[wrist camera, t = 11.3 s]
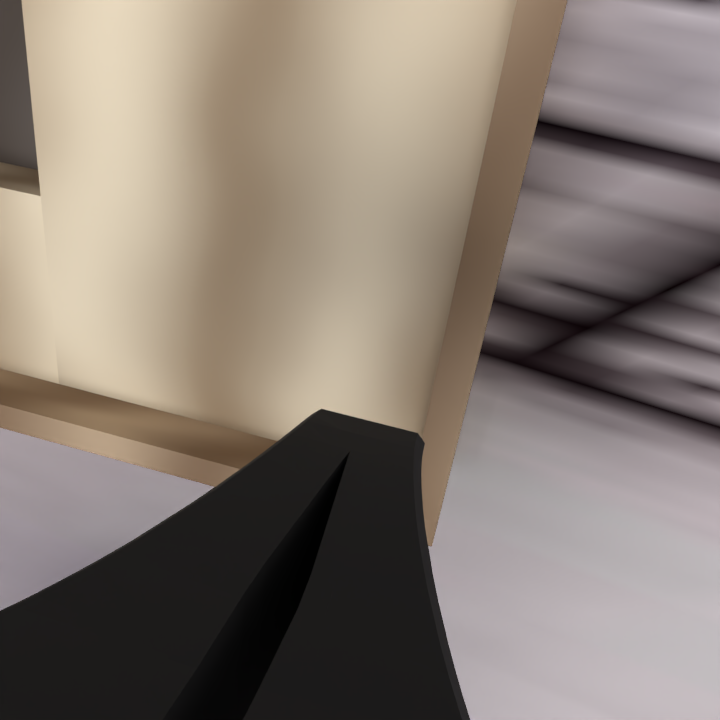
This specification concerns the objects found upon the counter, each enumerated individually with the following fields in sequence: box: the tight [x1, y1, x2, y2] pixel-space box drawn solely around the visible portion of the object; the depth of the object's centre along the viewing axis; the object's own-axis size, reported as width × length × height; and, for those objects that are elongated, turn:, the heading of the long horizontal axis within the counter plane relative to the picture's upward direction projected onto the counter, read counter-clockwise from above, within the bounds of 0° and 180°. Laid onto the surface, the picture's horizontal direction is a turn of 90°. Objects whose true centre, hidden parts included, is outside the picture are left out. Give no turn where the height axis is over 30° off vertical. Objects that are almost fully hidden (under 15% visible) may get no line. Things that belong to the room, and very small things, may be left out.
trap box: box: [0, 0, 567, 546], centre depth 17 cm, size 24×14×4 cm, turn 83°
